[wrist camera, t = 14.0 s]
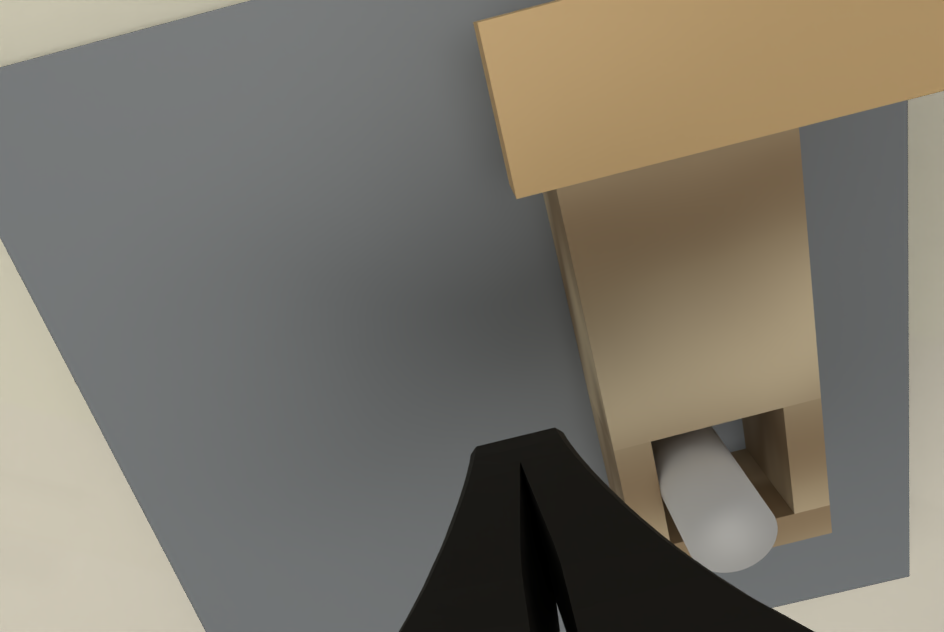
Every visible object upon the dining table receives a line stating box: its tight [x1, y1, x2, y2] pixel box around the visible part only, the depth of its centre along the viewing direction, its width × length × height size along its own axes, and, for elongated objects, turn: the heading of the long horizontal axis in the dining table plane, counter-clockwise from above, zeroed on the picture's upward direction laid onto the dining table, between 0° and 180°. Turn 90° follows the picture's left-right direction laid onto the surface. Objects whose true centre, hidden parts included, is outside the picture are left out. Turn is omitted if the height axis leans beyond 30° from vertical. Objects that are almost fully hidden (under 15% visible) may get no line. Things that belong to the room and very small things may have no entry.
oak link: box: [543, 128, 832, 557], centre depth 17 cm, size 14×5×3 cm, turn 15°
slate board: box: [0, 0, 944, 632], centre depth 18 cm, size 22×21×6 cm
